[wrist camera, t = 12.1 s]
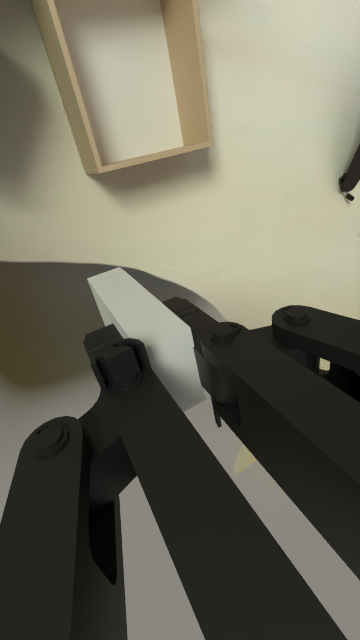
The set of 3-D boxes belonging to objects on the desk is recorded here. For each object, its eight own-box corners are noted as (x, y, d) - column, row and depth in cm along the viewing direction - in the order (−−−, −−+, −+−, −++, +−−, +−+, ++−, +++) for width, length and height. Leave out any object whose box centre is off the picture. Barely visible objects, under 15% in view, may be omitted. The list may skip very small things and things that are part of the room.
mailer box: (85, 174, 41) (99, 173, 35) (27, -8, 32) (30, -54, 26) (185, 150, 46) (213, 145, 40) (159, -14, 37) (190, -54, 31)
